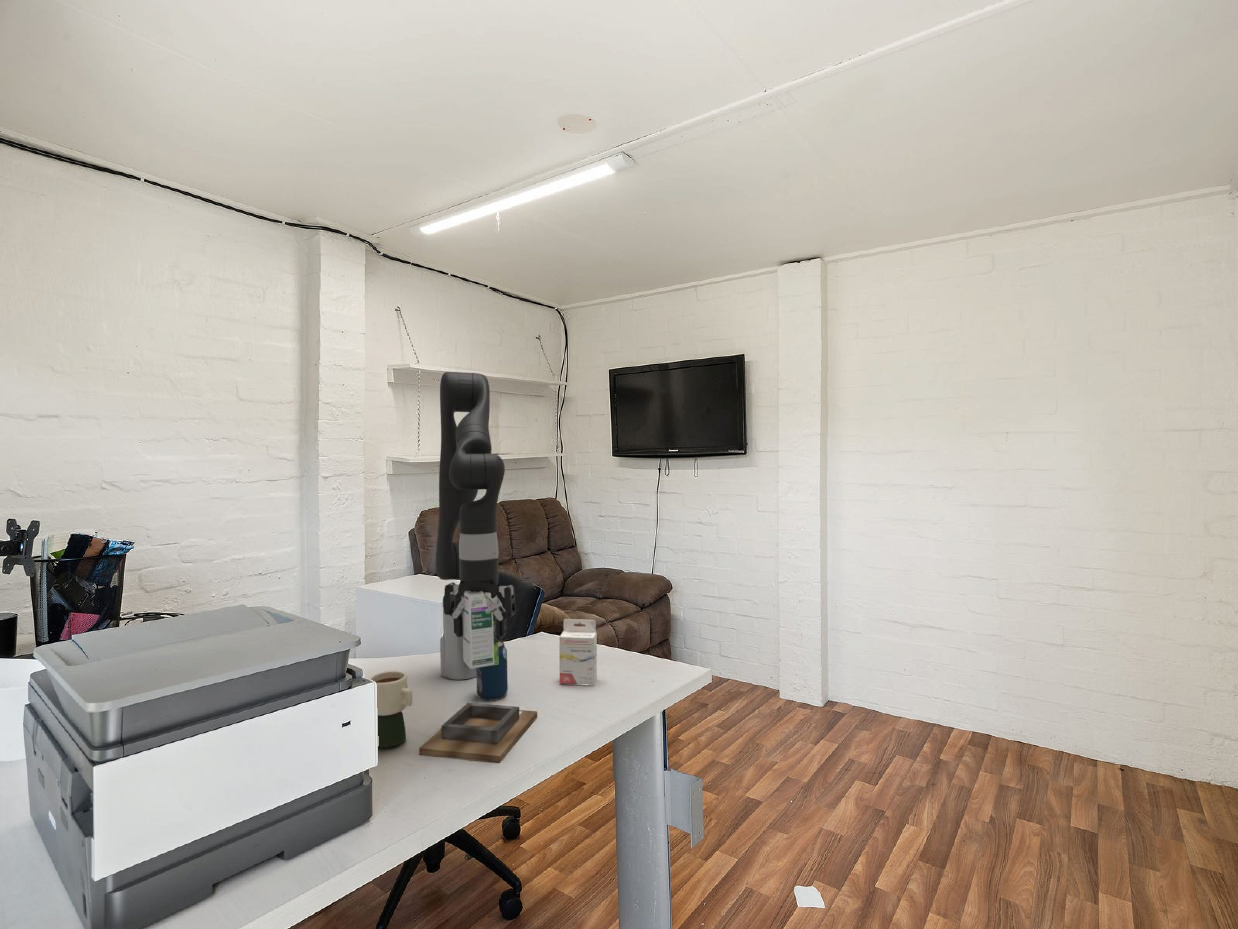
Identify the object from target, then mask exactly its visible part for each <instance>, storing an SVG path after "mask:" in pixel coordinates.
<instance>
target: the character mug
mask: <svg viewBox="0 0 1238 929" xmlns="http://www.w3.org/2000/svg"><path fill="white" fill-rule="evenodd" d="M369 679H370V680H373V681H375V682H376V684H377V708H378V736H379V747H378V748H390V747H392V746H396V745H398V744H400V743H402V742H404V741H406V740H407V734H406V725H405V719H404V713H403V712H402V711H404V710H405V709H406V708H407V707H410V706H412V704H413V690H412V689H411V688H409V686H408V674H407V673H406V672H405V671H402V670H388V671H381V672H378V673H374V674H373V675H371V676H369V677H368V680H369Z"/></svg>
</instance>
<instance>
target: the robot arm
mask: <svg viewBox="0 0 1238 929" xmlns="http://www.w3.org/2000/svg"><path fill="white" fill-rule="evenodd" d="M490 390H491V389H490V384H489V380H488V377H487V376H486V375H485V374H483V373H479V372H477V373H476V372H460V371H446V372H444V373H443V374H442V376H441V379H440V384H439V405H440V406H439V407H440V408H439V410H440V456H439V471H438V472H439V473H438V475H439V476H438V505H439V506H438V507H439V508H438V528H437V536H436V537H437V538H436V548H435V549H436V550H435V571H436V575H437V577H438V578H439V579H440V580H443V581H452V580H459V584H456V583H455V582H450V583H448V584H446V585H444V595H443V596H442V621H443V622H442V623H443V624H442V625H443V626H442V627H443V629H442V630H443V632H442V633H443V636H441V637H440V639H439V646H440V647H439V649H440V650H439V652H440V655H439V656H440V676H441V677H445V678H446V679H449V680H454V681H455V680H460V681H461V680H469V679H473V678H477V677H476V668H474V669H470V668H469V667H468V666H467V665H466V663H465V662H464V660H463V627H462V611H463V610H464V607H465V595H464V593H465V591H467V592H473V591H479V593H483V594H484V598H486V600H487V601H488V602H487V607H488V608H489V610H490V611H491V612H493V613H494V615H495V616H496V618H497V619H498V620H497V621H496V634H497V639H498V640H502V639H503V638H504V637H505V636H506V635H507V632H508V631H507V630H508V629H507V628H508V627H507V623H508V622H507V619H510V618H512V617H513V616H514V615H516V613H517V605H516V593H515V591H516V590H515V586H514V585H513V584H510V585H500V583H499V582H500V581H499V573H500V572H499V554H500V553H499V552H500V550H499V541H498V535H497V509H498V508H497V507H498V499H499V495H500V492H501V491H500V490H501V488H502V485H503V484H502V483H503V481H504V476H505V472H506V470H505V468H506V466H505V463H504V460H503V459H502V457H501V456H500V455H499V454H496V453H492V448H493V447H492V442H491V441H492V440H491V435H490V428H489V427H490V411H491V410H490V408H491V407H490V406H491V404H490V401H491V397H490V396H491V393H490ZM455 413H467V414H466V415H464V416H463V417H462V418H461V420H460V421H459V422H458V424H457V422H456V419H455V415H454V414H455ZM479 490H485V494H484V495H483V496H482V497H481V498H480V499H476V497H477V495H478V493H479ZM475 499H476V500H475ZM458 526H459V541H453V539H454V535H455V532H456V530H457V527H458ZM485 592H488V593H491V598H492V599H493V598H495V597H496V595H497V605H495V604H494V603H493V602H492V601H491V599H490V598H489V597H488V596H487V595H486V594H485ZM499 594H501V596H502V597H503V598H504V607H503V603H502V602H501V600H500V599H499V597H498V596H499ZM462 597H463V599H462Z"/></svg>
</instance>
